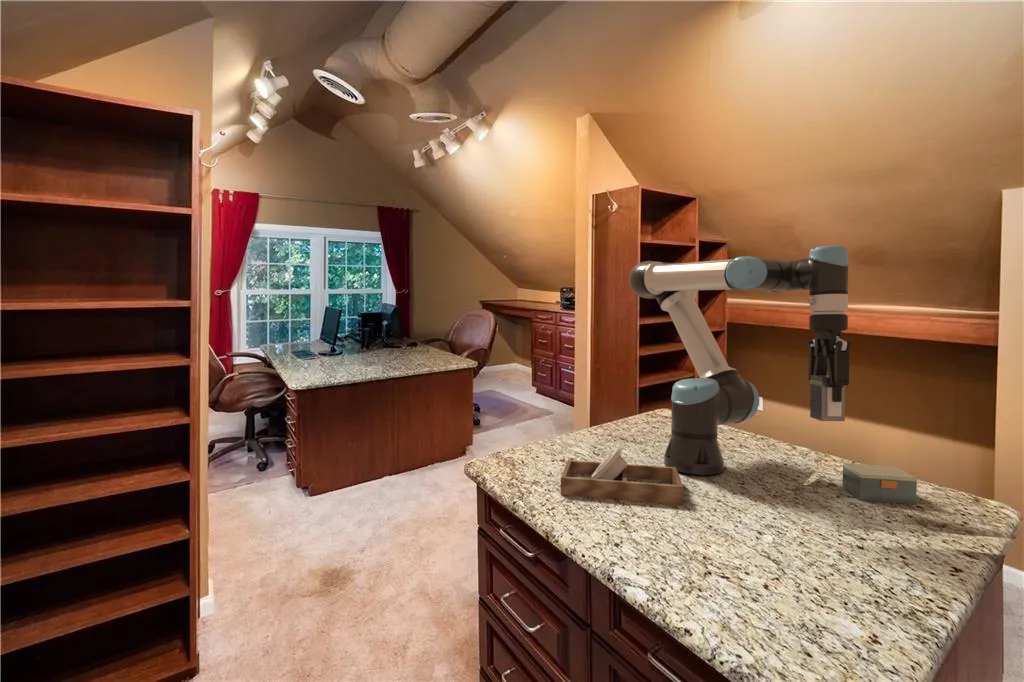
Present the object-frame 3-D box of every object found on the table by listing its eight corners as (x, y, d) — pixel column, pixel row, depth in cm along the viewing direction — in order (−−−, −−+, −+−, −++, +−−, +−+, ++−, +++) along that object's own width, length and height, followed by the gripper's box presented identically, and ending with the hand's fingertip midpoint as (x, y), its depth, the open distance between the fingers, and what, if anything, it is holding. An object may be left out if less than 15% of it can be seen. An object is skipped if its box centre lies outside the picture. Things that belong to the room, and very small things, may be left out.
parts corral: (560, 494, 113) (560, 477, 112) (567, 475, 127) (567, 460, 127) (683, 504, 107) (683, 487, 106) (675, 483, 121) (675, 467, 121)
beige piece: (587, 477, 123) (612, 449, 126) (600, 490, 122) (625, 461, 125) (594, 474, 114) (621, 444, 116) (608, 488, 113) (635, 457, 115)
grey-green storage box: (860, 500, 110) (861, 474, 110) (842, 487, 119) (843, 463, 119) (917, 505, 107) (918, 478, 107) (893, 490, 117) (894, 466, 116)
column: (810, 417, 116) (810, 375, 115) (832, 417, 115) (832, 375, 115) (821, 421, 111) (821, 377, 110) (844, 421, 110) (845, 377, 110)
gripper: (792, 315, 122) (791, 407, 122) (833, 312, 104) (831, 420, 104) (824, 314, 121) (823, 407, 122) (870, 312, 103) (869, 421, 104)
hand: (827, 413), depth 113 cm, fingers closed on column, 5 cm apart
